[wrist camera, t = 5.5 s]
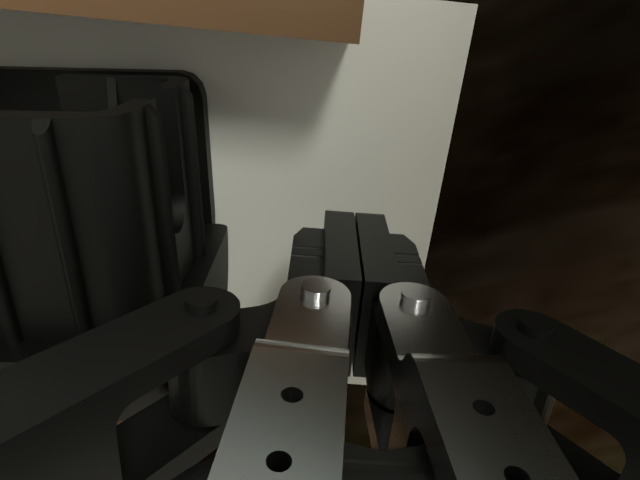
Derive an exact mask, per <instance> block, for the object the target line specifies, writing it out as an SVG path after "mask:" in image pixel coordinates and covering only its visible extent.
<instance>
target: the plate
mask: <svg viewBox="0 0 640 480" xmlns="http://www.w3.org/2000/svg"><path fill="white" fill-rule="evenodd" d="M477 8H478V4H471V3H462V2H452V1H442V0H364V8H363V17H362V25H361V34H360V42H359V44H349V43H339V42H329V41H319V40H309V39H299V38H289V37H279V36H269V35H259V34H249V33H239V32H229V31H219V30H209V29H199V28H189V27H179V26H169V25H159V24H149V23H139V22H129V21H119V20H109V19H99V18H89V17H79V16H69V15H58V14H48V13H38V12H28V11H18V10H8V9H0V66H18V67H66V68H114V69H162V70H185V71H188V72H191V73H194V74H195V75H196V76H197V77H198V78H199V79H200V80H201V81H202V82H203V84H204V87H205V91H206V94H207V106H208V120H209V134H210V148H211V161H212V175H213V189H214V203H215V224H223V225H226V226H227V228H228V290H227V291H229V292H231V293H233V294H234V295H235V296H236V297H237V298H238V299H239V301H240V308H246V307H254V306H260V305H264V304H267V303H270V302H272V301H274V300H276V299H277V298H278V294H279V291H280V288H281V286H282V285H283V284H284V283H285V282H287V279H288V272H289V265H290V258H291V251H292V244H293V237H294V235H295V234H296V233H297V232H298V231H299V230H301V229H302V228H303V227H307V228H321V229H324V218H325V210H329V211H343V212H354V216H355V213H356V212H357V213H371V214H384V215H385V219H386V222H387V226H388V230H389V233H390V234H404V235H405V236H406V237H407V238H409V239H410V240H411V241H412V242H413V243H415V245H416V247H417V250H418V253H419V257H420V259H421V261H422V265H423V267H424V268H425V264H426V259H427V254H428V249H429V244H430V239H431V234H432V229H433V224H434V219H435V214H436V209H437V204H438V200H439V195H440V190H441V185H442V180H443V175H444V170H445V165H446V160H447V155H448V150H449V145H450V141H451V136H452V131H453V126H454V121H455V116H456V111H457V106H458V101H459V96H460V91H461V86H462V81H463V77H464V72H465V67H466V62H467V57H468V52H469V47H470V42H471V37H472V32H473V27H474V22H475V17H476V13H477ZM348 384H360V385H367V384H366V378H365V377H353V368H352V366H351V374H350V377H348Z"/></svg>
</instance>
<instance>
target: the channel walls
mask: <svg viewBox="0 0 640 480" xmlns="http://www.w3.org/2000/svg"><path fill="white" fill-rule="evenodd" d="M363 8H364V0H0V9H8V10H18V11H28V12H38V13H48V14H58V15H69V16H79V17H89V18H99V19H109V20H119V21H129V22H139V23H149V24H159V25H169V26H179V27H189V28H199V29H209V30H219V31H229V32H239V33H249V34H259V35H269V36H279V37H289V38H299V39H309V40H319V41H329V42H339V43H349V44H359V42H360V34H361V25H362V17H363ZM121 422H123V421H118V422H117V425H118V424H119V423H121Z"/></svg>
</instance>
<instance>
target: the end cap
mask: <svg viewBox="0 0 640 480" xmlns="http://www.w3.org/2000/svg"><path fill="white" fill-rule="evenodd" d="M200 286H209V287H217V288H221V289H225V290H228V228H227V226H226V225H223V224H215V203H214V189H213V175H212V161H211V148H210V134H209V120H208V106H207V94H206V91H205V87H204V84H203V82H202V81H201V80H200V79H199V78H198V77H197V76H196V75H195V74H194V73H191V72H188V71H185V70H162V69H114V68H66V67H18V66H0V370H1V369H3V368H5V367H8V366H10V365H12V364H14V363H17V362H19V361H21V360H23V359H26V358H28V357H30V356H32V355H35V354H37V353H39V352H42V351H44V350H46V349H48V348H51V347H53V346H55V345H57V344H60V343H62V342H64V341H67V340H69V339H71V338H73V337H76V336H78V335H80V334H82V333H85V332H87V331H89V330H92V329H94V328H96V327H98V326H101V325H103V324H105V323H107V322H110V321H112V320H114V319H116V318H119V317H121V316H123V315H126V314H128V313H130V312H132V311H135V310H137V309H139V308H141V307H144V306H146V305H148V304H151V303H153V302H155V301H157V300H160V299H162V298H164V297H166V296H169V295H171V294H173V293H176V292H178V291H180V290H183V289H187V288H192V287H200ZM167 394H169V389H168V381H167V382H166V383H164V384H162V385H161V386H159V387H157V388H155V389H154V390H152V391H150V392H149V393H147V394H145V395H144V396H142V397H140V398H138V399H137V400H135V401H134V402H132V403H131V404H130V405H129V406H128V407H127V408H126V409H125V410H124V411H123V412H122V414H121V416H120V417H119V419H118V421H124V420H126V419H128V418H129V417H131V416H133V415H134V414H136V413H138V412H139V411H141V410H143V409H144V408H146V407H147V406H149V405H151V404H152V403H154V402H156V401H157V400H159V399H161V398H162V397H164V396H166V395H167Z"/></svg>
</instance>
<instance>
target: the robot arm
mask: <svg viewBox="0 0 640 480" xmlns="http://www.w3.org/2000/svg"><path fill="white" fill-rule="evenodd" d="M351 366H352V368H353V377H365V378H366V384H367V385H366V391H365V398H364V411H365V416H366V422H367V427H368V432H369V437H370V443H371V448H372V449H371V448H367V447H363V446H360V445H356V444H353V443H349V442H345V441H344V435H345V418H346V401H347V384H348V377H350V374H351ZM167 381H168V389H169V394H167V395H166V396H164V397H162V398H161V399H159V400H157V401H156V402H154V403H152V404H151V405H149V406H147V407H146V408H144V409H143V410H141V411H139V412H138V413H136V414H134V415H133V416H131V417H129V418H128V419H126V420H124V421H123V422H121V423H119V424H118V425H117V422H118V419H119V417H120V416H121V414H122V412H123V411H124V410H125V409H126V408H127V407H128V406H129V405H130V404H131V403H132V402H134V401H135V400H137V399H138V398H140V397H142V396H144V395H145V394H147V393H149V392H150V391H152V390H154V389H155V388H157V387H159V386H161V385H162V384H164V383H166V382H167ZM556 399H557V400H558V401H560V402H561V403H563V404H565V405H566V406H568V407H569V408H571V409H572V410H574V411H575V412H577V413H578V414H580V415H582V416H583V417H585V418H586V419H588V420H589V421H591V422H592V423H594V424H595V425H597V426H599V427H600V428H602V429H603V430H605V431H606V432H608V433H609V434H611V435H612V436H613V437H614V438H615V439H616V440H617V441H618V442H619V443H620V445H621V446H622V448H623V450H624V452H625V456H626V464H625V467H624V469H623V471H622V473H621V474H619V473H617V472H615V471H614V470H612V469H611V468H609V467H608V466H606V465H605V464H604V463H602V462H601V461H599V460H598V459H596V458H595V457H593V456H592V455H591V454H589V453H588V452H586V451H585V450H583V449H582V448H581V447H579V446H578V445H576V444H575V443H573V442H572V441H570V440H569V439H568V438H566V437H565V436H563V435H562V434H560V433H559V432H557V431H556V430H555V429H553V428H552V427H550V426H549V425H547V423H548V420H549V418H550V415H551V412H552V409H553V406H554V403H555V401H556ZM216 448H218V450H217V453H216V456H215V457H213V458H210V459H207V460H205V461H202V462H200V463H198V462H199V461H201V460H202V459H203V458H205V457H206V456H207V455H209V454H210V453H211V452H213V451H214V450H215V449H216ZM197 463H198V464H197ZM195 464H196V465H195ZM0 480H640V364H639V363H637V362H635V361H633V360H631V359H629V358H627V357H625V356H623V355H622V354H620V353H618V352H616V351H614V350H612V349H610V348H608V347H606V346H605V345H603V344H601V343H599V342H597V341H595V340H593V339H591V338H589V337H588V336H586V335H584V334H582V333H580V332H578V331H576V330H574V329H572V328H571V327H569V326H567V325H565V324H563V323H561V322H559V321H557V320H555V319H553V318H551V317H549V316H547V315H544V314H541V313H538V312H534V311H530V310H523V309H512V310H506V311H503V312H501V313H500V314H498V315H497V317H496V319H495V322H494V326H493V327H490V326H486V325H482V324H478V323H474V322H471V321H467V320H464V319H462V318H459V317H458V316H457V314H456V312H455V310H454V308H453V307H452V305H451V303H450V301H449V300H448V298H447V297H446V296H445V295H444V294H442V293H441V292H440V291H438V290H436V289H434V288H432V287H430V284H429V281H428V278H427V275H426V273H425V270H424V267H423V265H422V261H421V259H420V257H419V253H418V250H417V247H416V245H415V243H413V242H412V241H411V240H410V239H409V238H407V237H406V236H405V235H404V234H390V233H389V230H388V226H387V222H386V219H385V215H384V214H371V213H357V212H356V213H355V216H354V212H343V211H329V210H325V218H324V229H321V228H307V227H303V228H302V229H301V230H299V231H298V232H297V233H296V234H295V235H294V237H293V244H292V251H291V258H290V265H289V272H288V279H287V282H285V283H284V284H283V285H282V286H281V288H280V291H279V294H278V298H277V299H276V300H274V301H272V302H270V303H267V304H264V305H260V306H254V307H246V308H240V301H239V299H238V298H237V297H236V296H235V295H234V294H233V293H231V292H229V291H227V290H225V289H221V288H217V287H209V286H200V287H192V288H187V289H183V290H180V291H178V292H176V293H173V294H171V295H169V296H166V297H164V298H162V299H160V300H157V301H155V302H153V303H151V304H148V305H146V306H144V307H141V308H139V309H137V310H135V311H132V312H130V313H128V314H126V315H123V316H121V317H119V318H116V319H114V320H112V321H110V322H107V323H105V324H103V325H101V326H98V327H96V328H94V329H92V330H89V331H87V332H85V333H82V334H80V335H78V336H76V337H73V338H71V339H69V340H67V341H64V342H62V343H60V344H57V345H55V346H53V347H51V348H48V349H46V350H44V351H42V352H39V353H37V354H35V355H32V356H30V357H28V358H26V359H23V360H21V361H19V362H17V363H14V364H12V365H10V366H8V367H5V368H3V369H1V370H0Z"/></svg>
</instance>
